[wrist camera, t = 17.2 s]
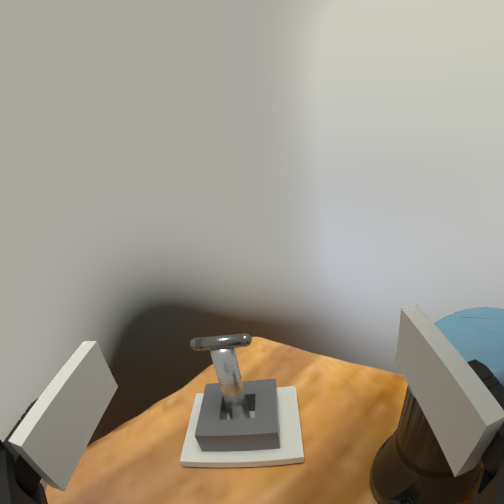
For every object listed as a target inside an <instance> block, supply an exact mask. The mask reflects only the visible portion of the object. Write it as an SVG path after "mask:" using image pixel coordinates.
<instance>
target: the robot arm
mask: <svg viewBox="0 0 504 504" xmlns="http://www.w3.org/2000/svg"><path fill="white" fill-rule="evenodd" d="M396 363H397V365H398V366H399V368H400V370H401V372H402V374H403V375H404V377H405V379H406V381H407V383H408V387H407V391H406V396H405V400H404V404H403V409H402V413H401V417H400V420H399V424H398V428H397V430H396V431H395V432H394V433H393V435H392V436H390V437H389V438H388V439H387V440H386V441H385V442H384V444H383V445H382V446H381V448H380V449H379V451H378V452H377V454H376V456H375V459H374V462H373V465H372V469H371V473H370V486H371V490H372V493H373V495H374V497H375V499H376V501H377V502H378V503H379V504H459V503H460V502H461V501H462V500H463V498H464V497H465V496H466V495H467V494H468V493H469V491H470V490H471V489H472V487H473V486H474V484H475V482H476V480H477V479H478V478H479V479H478V482H477V485H476V488H475V491H474V494H473V497H472V499H471V502H470V504H504V309H499V308H488V307H486V308H485V307H484V308H483V307H482V308H472V309H466V310H462V311H458V312H455V313H454V314H452V315H449V316H446V317H444V318H442V319H440V320H439V321H437V322H436V323H433V322H432V321H431V320H430V319H429V317H428V316H427V315H426V314H425V313H424V312H423V311H422V310H421V309H420V308H419V307H418V305H416V306H411V307H406V308H402V309H401V317H400V328H399V338H398V345H397V353H396ZM117 387H118V386H117V384H116V382H115V380H114V378H113V376H112V374H111V372H110V370H109V368H108V366H107V363H106V361H105V359H104V357H103V355H102V353H101V350H100V348H99V346H98V343H97V341H84V342H83V343H82V344H81V346H80V347H79V348H78V349H77V350H76V352H75V353H74V354H73V355H72V356H71V358H70V359H69V360H68V361H67V363H66V364H65V365H64V366H63V368H62V369H61V370H60V371H59V373H58V374H57V375H56V376H55V378H54V379H53V380H52V382H51V383H50V384H49V386H48V387H47V388H46V389H45V391H44V392H43V393H42V395H41V396H40V397H39V398H38V399H36V400H35V401H34V402H33V403H31V405H30V406H29V407H28V409H27V410H26V413H24V414H23V415H22V417H21V420H19V421H18V422H17V424H16V425H15V426H14V428H13V430H12V431H11V432H10V434H9V435H8V437H7V438H6V439H5V441H4V442H2V441H1V440H0V504H48V503H47V499H46V495H45V491H44V488H43V486H42V484H41V483H40V480H41V478H43V480H44V481H45V482H47V484H49V485H50V486H51V487H53V488H56V489H59V490H61V491H65V489H66V487H67V485H68V483H69V481H70V479H71V477H72V475H73V472H74V470H75V468H76V466H77V464H78V462H79V460H80V458H81V456H82V454H83V452H84V450H85V448H86V446H87V444H88V442H89V440H90V438H91V436H92V434H93V432H94V431H95V429H96V427H97V425H98V423H99V421H100V419H101V417H102V415H103V413H104V411H105V410H106V407H107V406H108V404H109V402H110V400H111V398H112V397H113V394H114V393H115V391H116V389H117ZM481 460H482V462H483V464H484V466H483V467H482V468H481V470H480V465H481ZM479 470H480V471H479Z"/></svg>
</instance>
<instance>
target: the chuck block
mask: <svg viewBox="0 0 504 504" xmlns="http://www.w3.org/2000/svg"><path fill="white" fill-rule="evenodd" d="M242 383H243V387H244V392H245V396H246V400H247V404H248V408H249V412H250V416H251V418H246V419H230V416H229V413H228V410H227V407H226V404H225V400H224V397H223V394H222V391H221V387H220V384H219V383H215V384H206V386H205V391H204V393H196V397H195V401H194V405H193V409H192V413H191V417H190V421H189V425H188V430H187V434H186V438H185V442H184V446H183V450H182V454H181V458H180V462H181V464H182V465H183V466H186V467H214V468H230V467H259V466H273V465H284V464H294V463H302V462H304V454H303V445H302V437H301V428H300V420H299V411H298V403H297V395H296V387H295V386H289V387H281V388H277V387H276V380H275V379H267V380H257V381H245V382H242Z"/></svg>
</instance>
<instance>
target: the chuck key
mask: <svg viewBox="0 0 504 504" xmlns="http://www.w3.org/2000/svg"><path fill="white" fill-rule="evenodd" d="M251 341H252V339H251V337H250V335H248V334H235V335H224V336H213V337H201V338H194V339H192V341H191V343H190V345H191V348H192V349H194V350H210V352H211V356H212V360H213V363H214V367H215V370H216V374H217V377H218V380H219V384H220V387H221V391H222V394H223V397H224V400H225V404H226V407H227V410H228V413H229V416H230V419H246V418H251V416H250V412H249V408H248V404H247V400H246V396H245V392H244V387H243V383H242V379H241V375H240V370H239V366H238V362H237V357H236V353H235V349H234V348H236V347H246V346H249V345H250V344H251Z"/></svg>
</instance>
